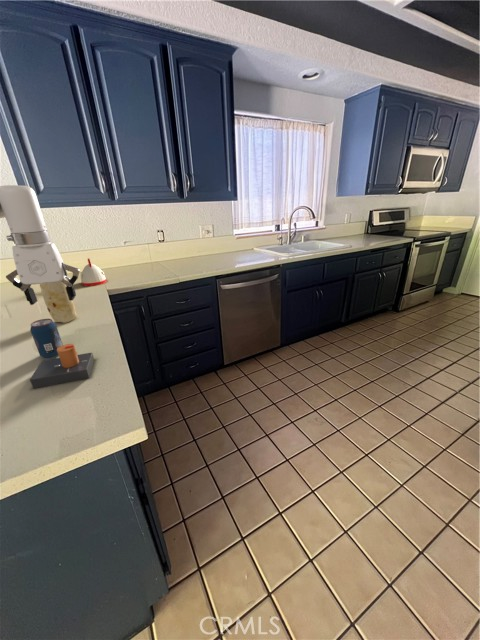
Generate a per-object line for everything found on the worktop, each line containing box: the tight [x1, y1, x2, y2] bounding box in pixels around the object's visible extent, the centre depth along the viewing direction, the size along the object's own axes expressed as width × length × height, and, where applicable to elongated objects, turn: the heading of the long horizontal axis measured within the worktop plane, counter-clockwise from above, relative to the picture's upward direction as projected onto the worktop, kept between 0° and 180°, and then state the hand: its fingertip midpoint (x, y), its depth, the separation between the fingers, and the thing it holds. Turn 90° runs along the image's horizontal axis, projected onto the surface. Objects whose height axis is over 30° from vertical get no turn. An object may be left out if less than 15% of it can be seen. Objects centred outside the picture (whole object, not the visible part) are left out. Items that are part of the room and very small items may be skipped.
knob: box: [57, 343, 79, 368], centre depth 78 cm, size 4×4×6 cm
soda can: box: [29, 318, 64, 360], centre depth 87 cm, size 7×7×12 cm
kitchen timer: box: [80, 258, 107, 287], centre depth 165 cm, size 14×14×15 cm
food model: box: [39, 281, 78, 324], centre depth 110 cm, size 10×7×20 cm
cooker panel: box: [29, 352, 95, 389], centre depth 79 cm, size 14×10×3 cm
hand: (53, 301), depth 75 cm, fingers open, 9 cm apart
